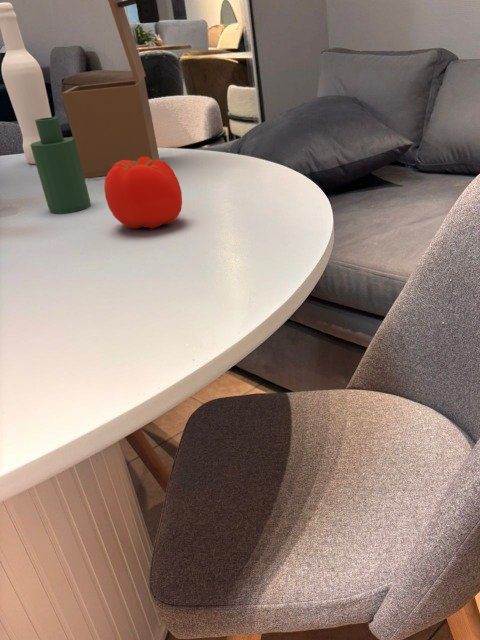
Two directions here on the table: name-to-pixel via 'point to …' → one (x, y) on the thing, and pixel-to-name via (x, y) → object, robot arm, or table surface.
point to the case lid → (127, 37)
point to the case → (110, 124)
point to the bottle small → (59, 168)
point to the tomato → (143, 193)
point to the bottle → (22, 81)
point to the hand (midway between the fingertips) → (149, 21)
